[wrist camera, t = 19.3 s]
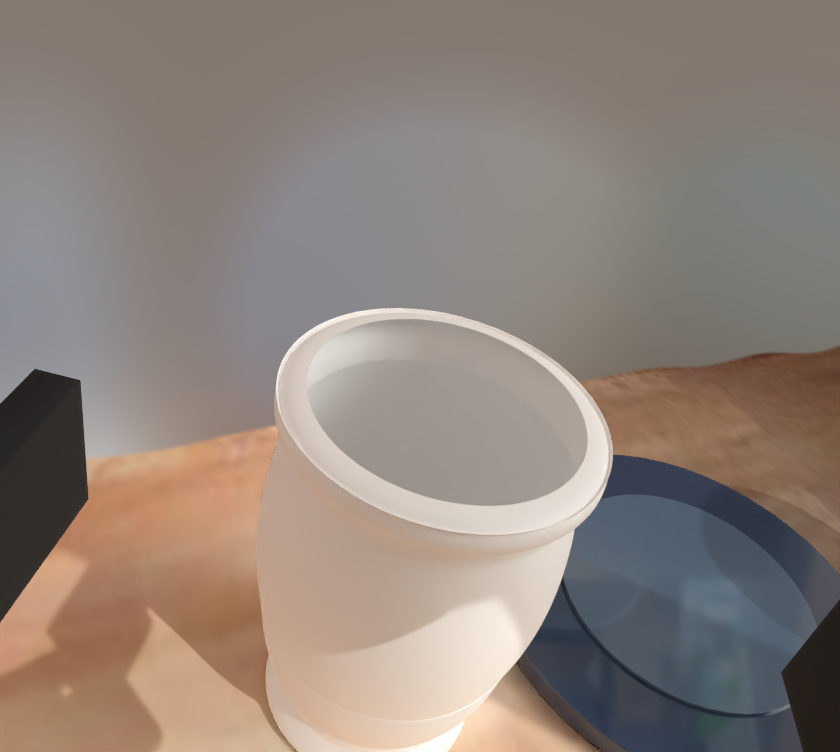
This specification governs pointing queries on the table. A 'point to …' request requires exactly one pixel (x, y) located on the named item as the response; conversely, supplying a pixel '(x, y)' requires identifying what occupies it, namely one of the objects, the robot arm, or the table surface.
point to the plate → (679, 617)
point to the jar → (414, 523)
